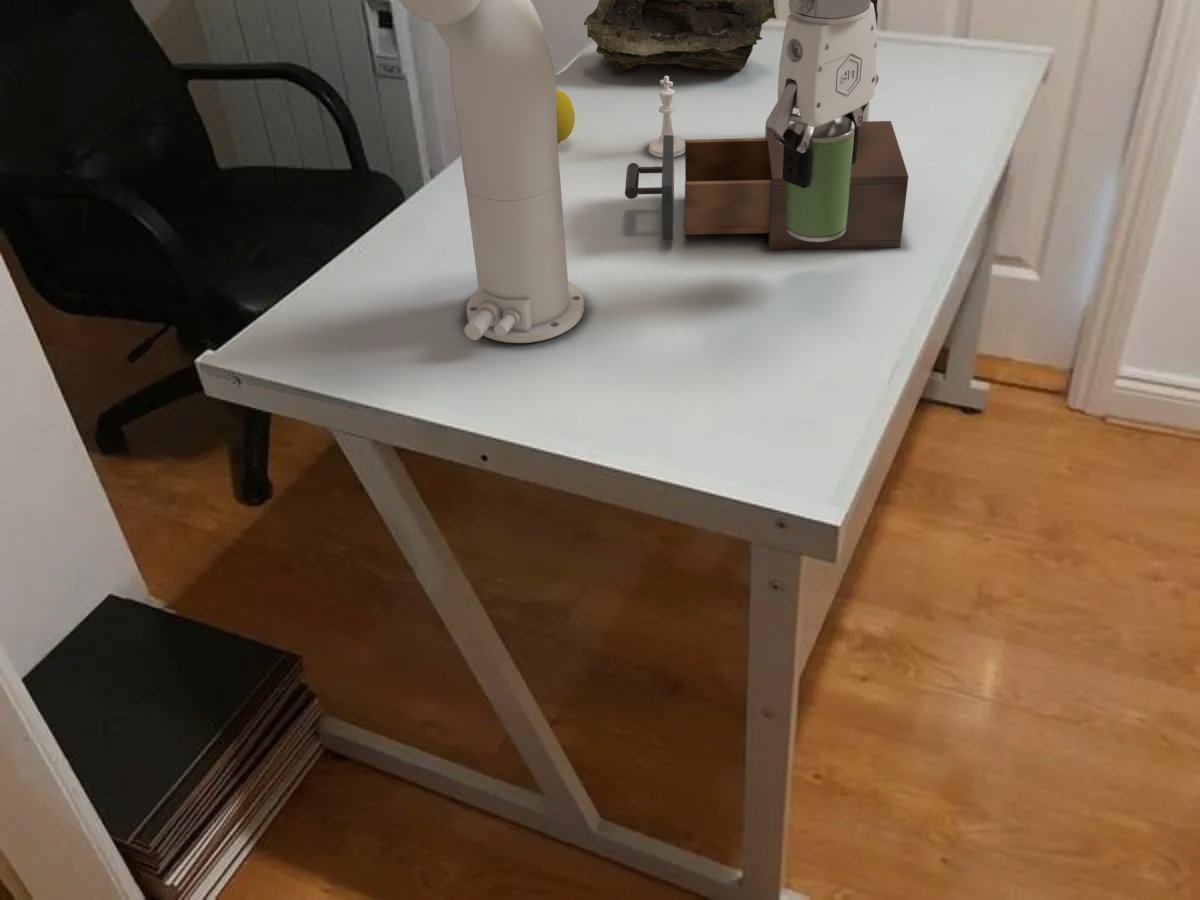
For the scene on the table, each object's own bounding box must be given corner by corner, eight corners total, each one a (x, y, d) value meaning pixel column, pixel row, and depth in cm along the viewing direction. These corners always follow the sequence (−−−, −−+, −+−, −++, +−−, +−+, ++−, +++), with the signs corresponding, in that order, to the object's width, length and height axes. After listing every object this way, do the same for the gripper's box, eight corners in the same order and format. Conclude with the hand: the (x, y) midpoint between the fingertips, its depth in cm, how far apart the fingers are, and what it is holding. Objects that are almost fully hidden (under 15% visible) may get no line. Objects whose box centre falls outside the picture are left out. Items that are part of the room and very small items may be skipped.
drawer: (624, 241, 141) (622, 186, 137) (629, 188, 151) (627, 135, 147) (781, 239, 139) (784, 183, 135) (774, 185, 150) (777, 132, 146)
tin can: (837, 246, 126) (845, 141, 119) (778, 237, 128) (782, 133, 121) (853, 218, 131) (861, 116, 124) (795, 210, 133) (800, 109, 126)
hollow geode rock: (771, 102, 184) (790, 7, 185) (763, 68, 172) (783, -34, 173) (595, 83, 191) (614, -8, 192) (574, 49, 179) (595, -49, 180)
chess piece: (672, 160, 159) (671, 86, 153) (641, 152, 162) (639, 79, 155) (693, 147, 162) (693, 73, 156) (662, 139, 165) (661, 66, 158)
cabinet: (769, 249, 140) (772, 178, 134) (762, 190, 151) (765, 123, 146) (900, 247, 139) (908, 176, 133) (883, 188, 150) (891, 120, 145)
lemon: (527, 149, 164) (522, 92, 159) (548, 133, 168) (543, 77, 163) (563, 156, 162) (559, 98, 157) (583, 140, 166) (580, 83, 161)
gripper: (799, 29, 108) (791, 212, 119) (920, -20, 116) (901, 155, 128) (737, 11, 112) (734, 189, 124) (857, -35, 121) (844, 135, 132)
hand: (819, 170), depth 125 cm, fingers closed on tin can, 6 cm apart
